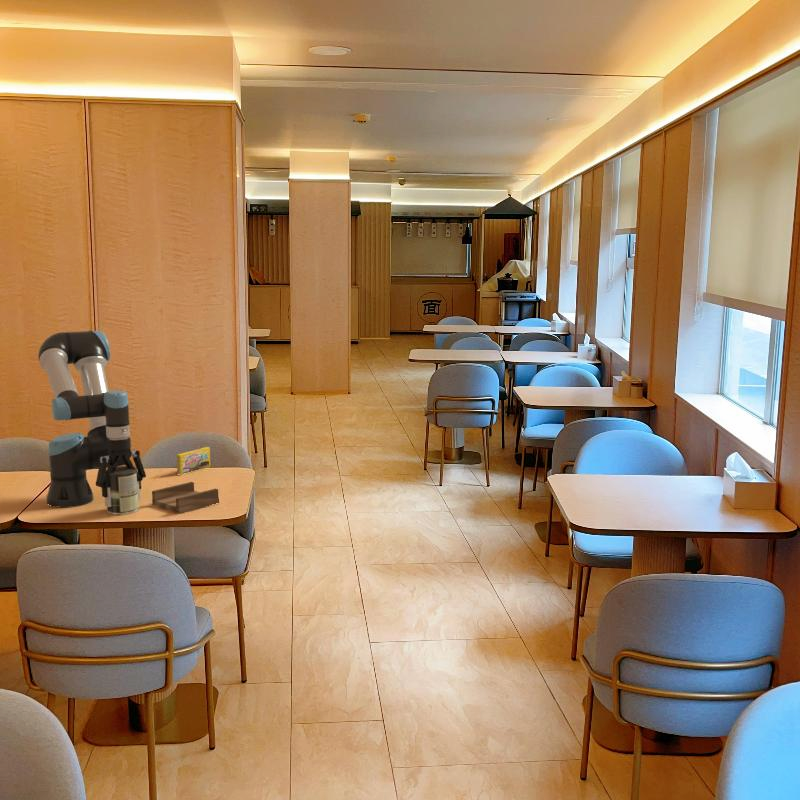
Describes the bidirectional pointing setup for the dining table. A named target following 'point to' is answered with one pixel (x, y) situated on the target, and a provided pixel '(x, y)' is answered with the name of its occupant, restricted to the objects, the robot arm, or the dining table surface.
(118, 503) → the coffee can
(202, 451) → the candy box
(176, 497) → the stand
